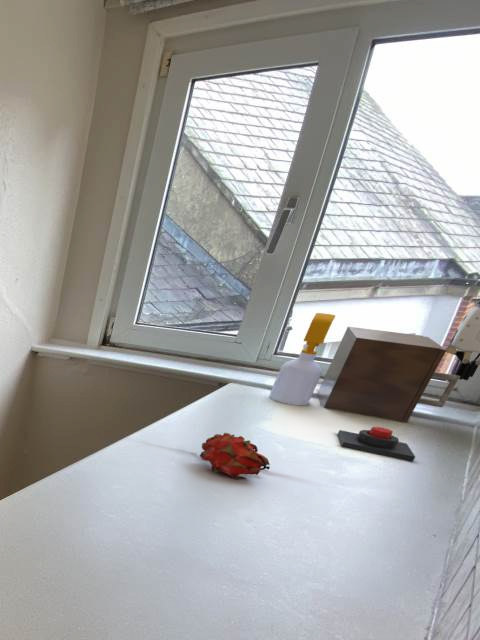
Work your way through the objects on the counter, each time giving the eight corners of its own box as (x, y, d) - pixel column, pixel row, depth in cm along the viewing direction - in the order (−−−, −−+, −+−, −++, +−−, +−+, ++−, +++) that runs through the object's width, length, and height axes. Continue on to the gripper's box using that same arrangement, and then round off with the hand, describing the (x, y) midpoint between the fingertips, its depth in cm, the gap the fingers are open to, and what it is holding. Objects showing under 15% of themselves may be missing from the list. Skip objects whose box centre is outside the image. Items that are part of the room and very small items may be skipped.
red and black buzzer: (401, 452, 124) (411, 435, 123) (410, 466, 117) (420, 449, 115) (335, 438, 130) (342, 422, 129) (339, 450, 123) (347, 434, 121)
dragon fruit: (189, 466, 114) (250, 496, 107) (187, 453, 108) (252, 484, 100) (215, 433, 114) (278, 461, 106) (215, 418, 107) (282, 446, 100)
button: (387, 436, 123) (391, 429, 122) (390, 441, 120) (394, 433, 119) (367, 432, 124) (370, 425, 124) (369, 436, 122) (373, 429, 121)
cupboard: (386, 405, 158) (422, 335, 149) (399, 425, 142) (441, 348, 133) (317, 393, 166) (347, 326, 157) (322, 410, 150) (356, 337, 141)
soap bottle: (308, 404, 155) (348, 315, 144) (304, 410, 149) (346, 318, 138) (270, 396, 161) (306, 310, 150) (265, 402, 155) (302, 313, 144)
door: (415, 409, 155) (454, 340, 146) (431, 430, 139) (476, 353, 130) (387, 405, 158) (423, 336, 149) (400, 424, 142) (441, 349, 133)
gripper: (461, 302, 133) (424, 376, 141) (552, 309, 125) (508, 387, 133) (453, 300, 139) (418, 371, 147) (540, 306, 131) (498, 381, 139)
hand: (461, 378), depth 140 cm, fingers closed
